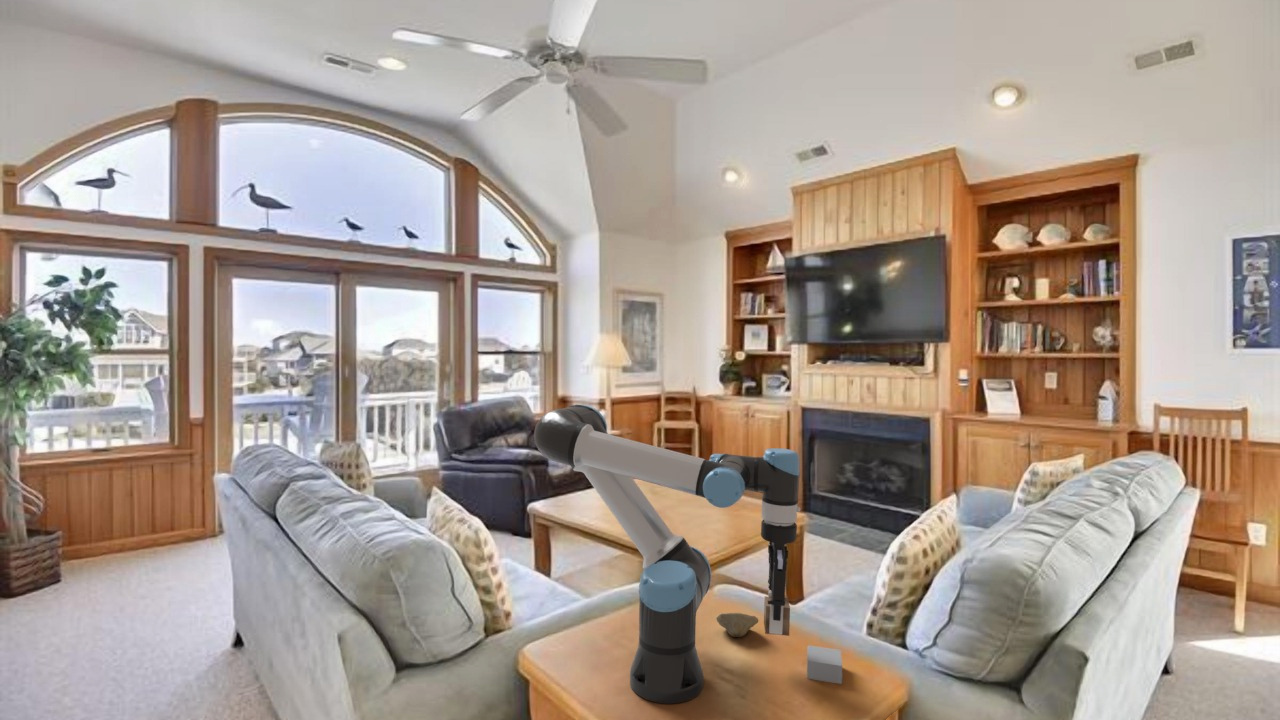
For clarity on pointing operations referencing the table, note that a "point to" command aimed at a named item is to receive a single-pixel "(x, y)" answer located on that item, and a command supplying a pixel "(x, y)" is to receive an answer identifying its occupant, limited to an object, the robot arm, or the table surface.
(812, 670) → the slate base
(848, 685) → the table surface
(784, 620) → the walnut block
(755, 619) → the fossil
